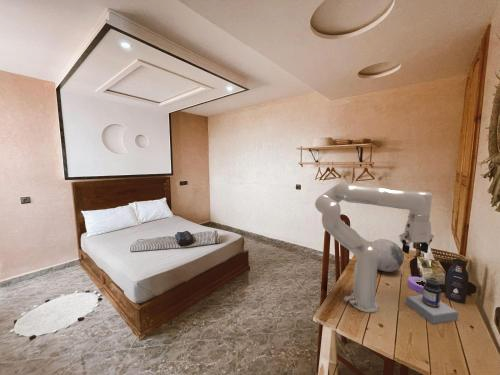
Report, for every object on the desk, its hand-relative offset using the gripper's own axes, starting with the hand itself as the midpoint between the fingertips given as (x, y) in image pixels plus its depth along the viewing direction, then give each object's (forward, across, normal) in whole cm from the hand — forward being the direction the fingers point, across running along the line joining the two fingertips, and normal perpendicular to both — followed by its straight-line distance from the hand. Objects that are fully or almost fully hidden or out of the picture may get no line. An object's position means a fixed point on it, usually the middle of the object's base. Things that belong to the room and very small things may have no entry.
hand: (414, 252), depth 99 cm
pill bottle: (+23, +5, -6) cm, 24 cm away
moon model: (+27, +12, +31) cm, 42 cm away
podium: (+26, +5, -6) cm, 28 cm away
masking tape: (+27, +18, +10) cm, 33 cm away
